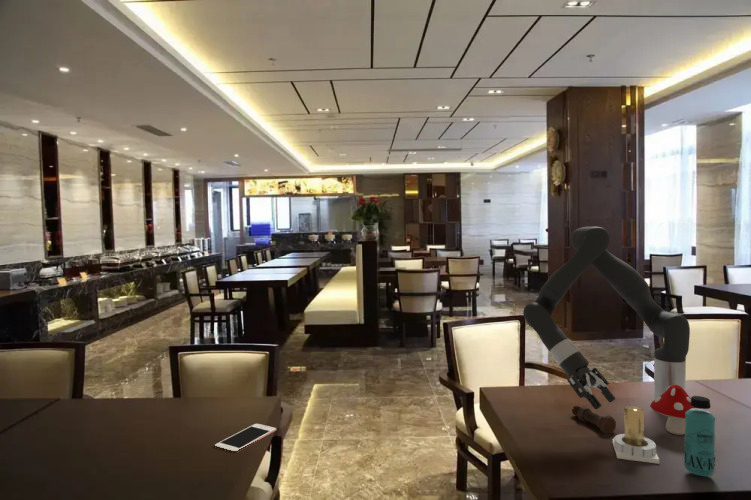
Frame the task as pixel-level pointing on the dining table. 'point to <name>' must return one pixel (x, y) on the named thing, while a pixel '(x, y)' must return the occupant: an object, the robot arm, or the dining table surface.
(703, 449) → the beverage bottle
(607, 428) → the bolt
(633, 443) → the cylinder
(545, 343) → the robot arm
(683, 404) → the decorative mushroom
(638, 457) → the seat block
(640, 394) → the dining table surface
